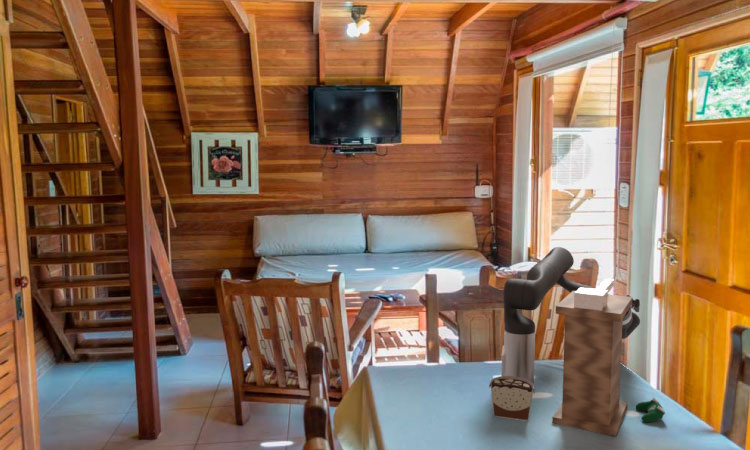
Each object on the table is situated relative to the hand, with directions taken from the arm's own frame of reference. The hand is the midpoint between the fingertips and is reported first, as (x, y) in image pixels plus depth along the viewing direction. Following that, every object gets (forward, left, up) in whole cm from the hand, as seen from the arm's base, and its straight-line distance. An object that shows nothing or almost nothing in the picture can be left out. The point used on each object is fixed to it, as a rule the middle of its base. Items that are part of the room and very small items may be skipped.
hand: (612, 296), depth 189 cm
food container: (-19, -39, -27) cm, 52 cm away
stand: (0, -29, -27) cm, 40 cm away
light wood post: (0, -23, +5) cm, 24 cm away
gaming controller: (+14, -22, -28) cm, 38 cm away
